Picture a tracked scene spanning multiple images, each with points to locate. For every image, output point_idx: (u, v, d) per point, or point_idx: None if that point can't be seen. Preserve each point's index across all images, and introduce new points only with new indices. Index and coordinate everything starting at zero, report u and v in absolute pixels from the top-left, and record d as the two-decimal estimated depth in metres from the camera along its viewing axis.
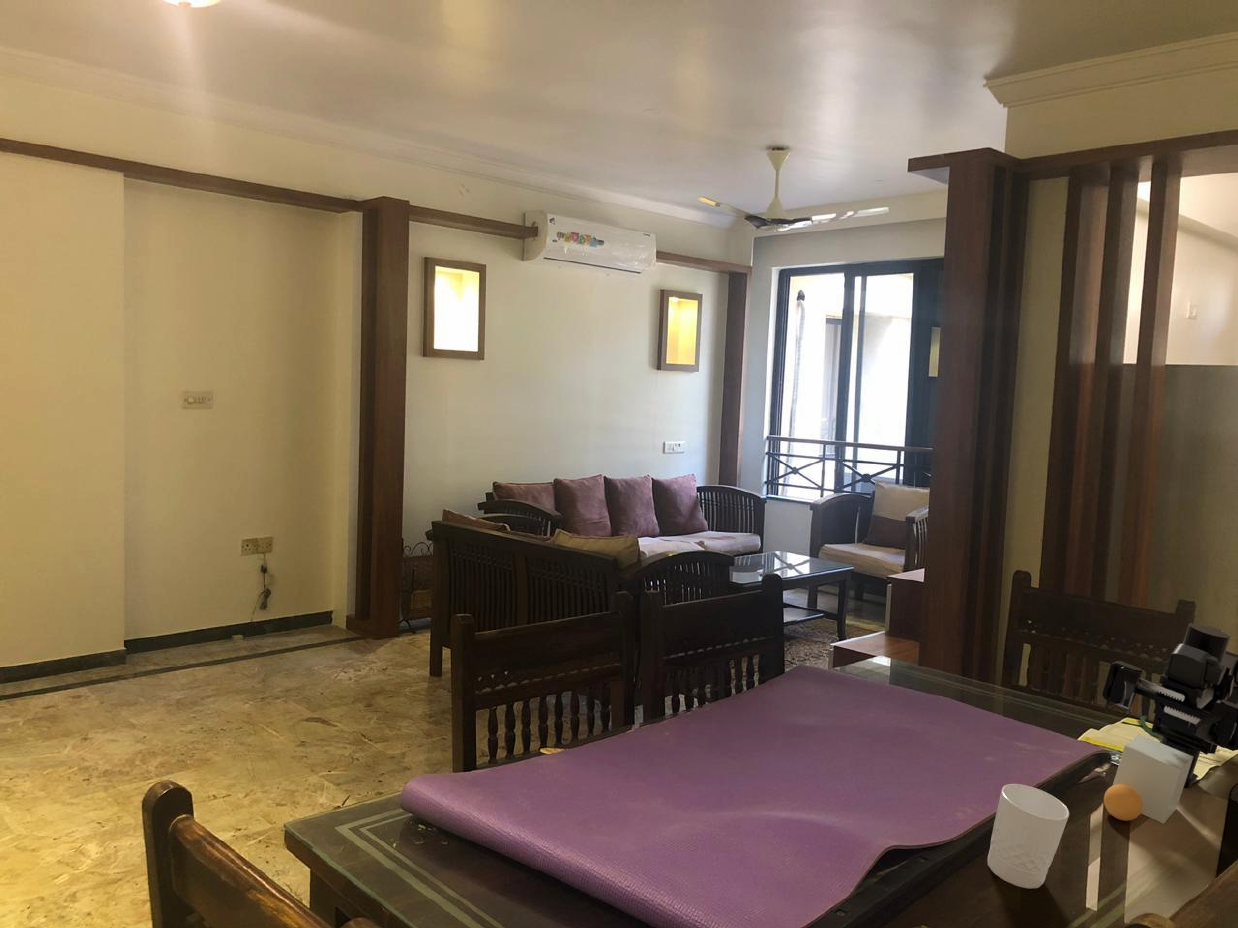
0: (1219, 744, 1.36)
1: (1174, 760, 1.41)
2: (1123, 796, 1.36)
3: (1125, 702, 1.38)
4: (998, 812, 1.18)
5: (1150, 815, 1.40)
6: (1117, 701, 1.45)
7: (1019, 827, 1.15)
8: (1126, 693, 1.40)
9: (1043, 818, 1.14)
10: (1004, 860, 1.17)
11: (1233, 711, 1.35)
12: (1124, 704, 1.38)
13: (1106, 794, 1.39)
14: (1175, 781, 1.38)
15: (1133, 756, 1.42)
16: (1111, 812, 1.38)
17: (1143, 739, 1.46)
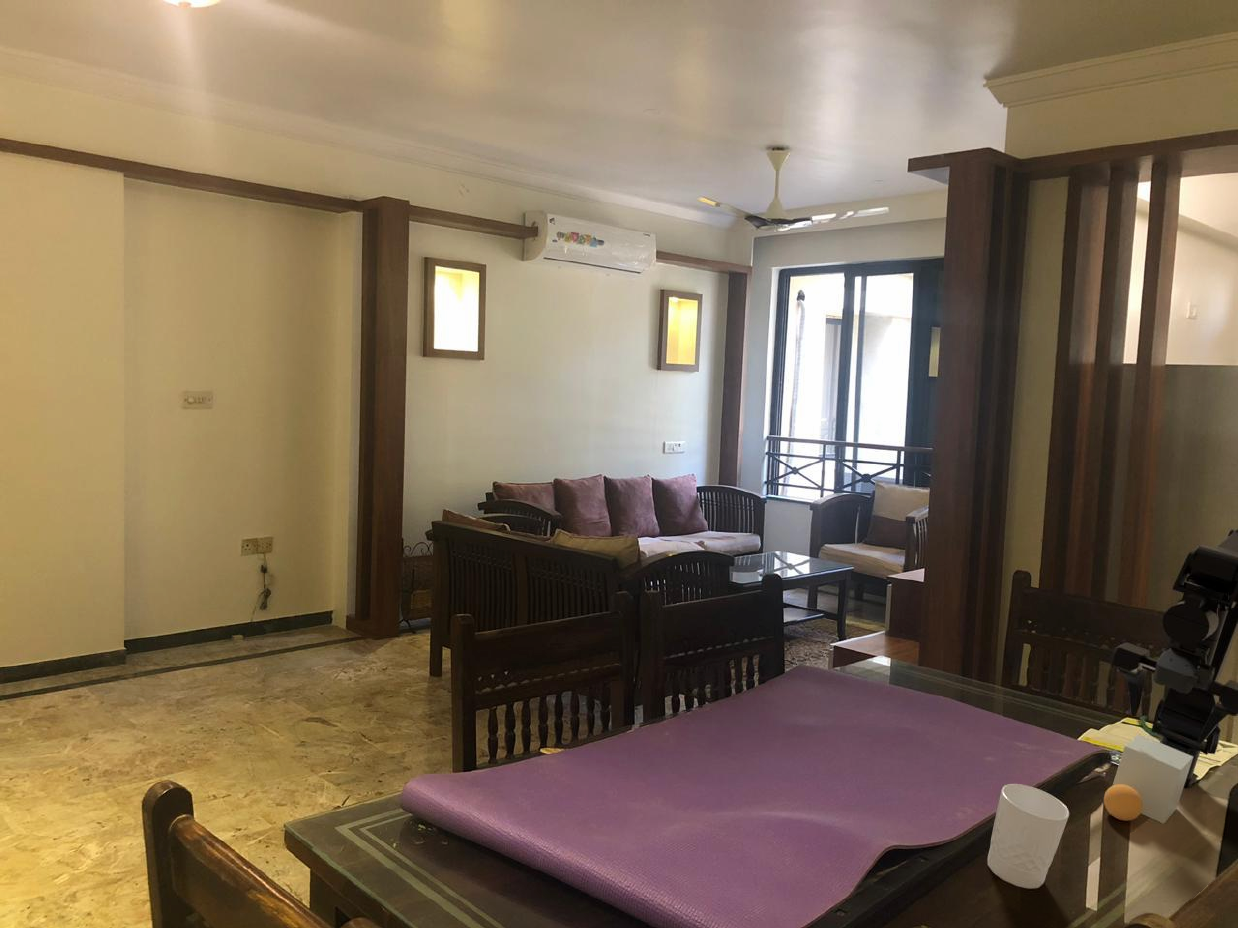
0: None
1: (1174, 760, 1.41)
2: (1123, 796, 1.36)
3: None
4: (998, 812, 1.18)
5: (1150, 815, 1.40)
6: None
7: (1019, 827, 1.15)
8: (1131, 705, 1.45)
9: (1043, 818, 1.14)
10: (1004, 860, 1.17)
11: (1231, 714, 1.34)
12: None
13: (1106, 794, 1.39)
14: (1175, 781, 1.38)
15: (1133, 756, 1.42)
16: (1111, 812, 1.38)
17: (1143, 739, 1.46)
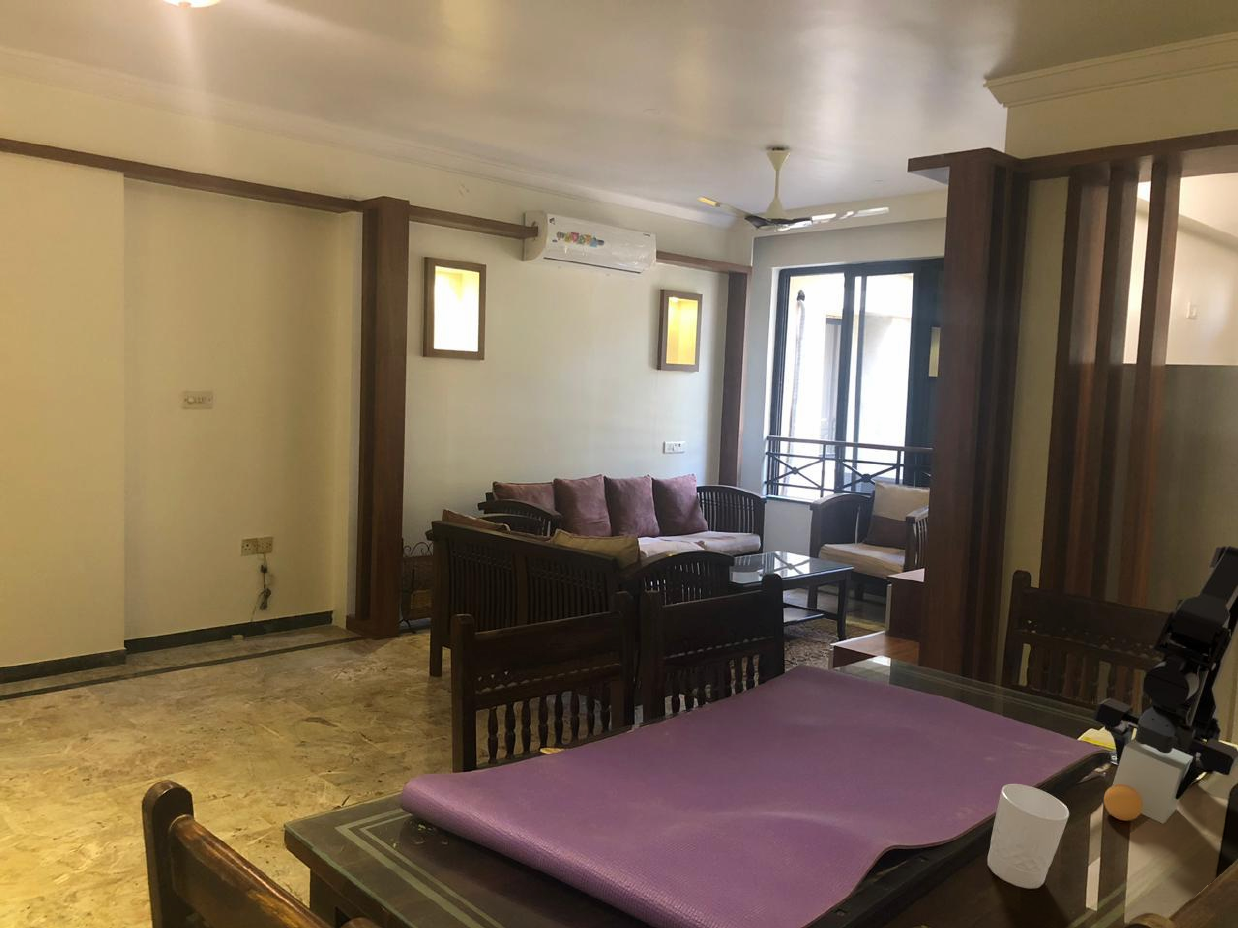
0: None
1: (1174, 760, 1.41)
2: (1123, 796, 1.36)
3: None
4: (998, 812, 1.18)
5: (1150, 815, 1.40)
6: None
7: (1019, 827, 1.15)
8: (1118, 762, 1.46)
9: (1043, 818, 1.14)
10: (1004, 860, 1.17)
11: (1207, 772, 1.36)
12: None
13: (1106, 794, 1.39)
14: (1175, 781, 1.38)
15: (1133, 756, 1.42)
16: (1111, 812, 1.38)
17: None
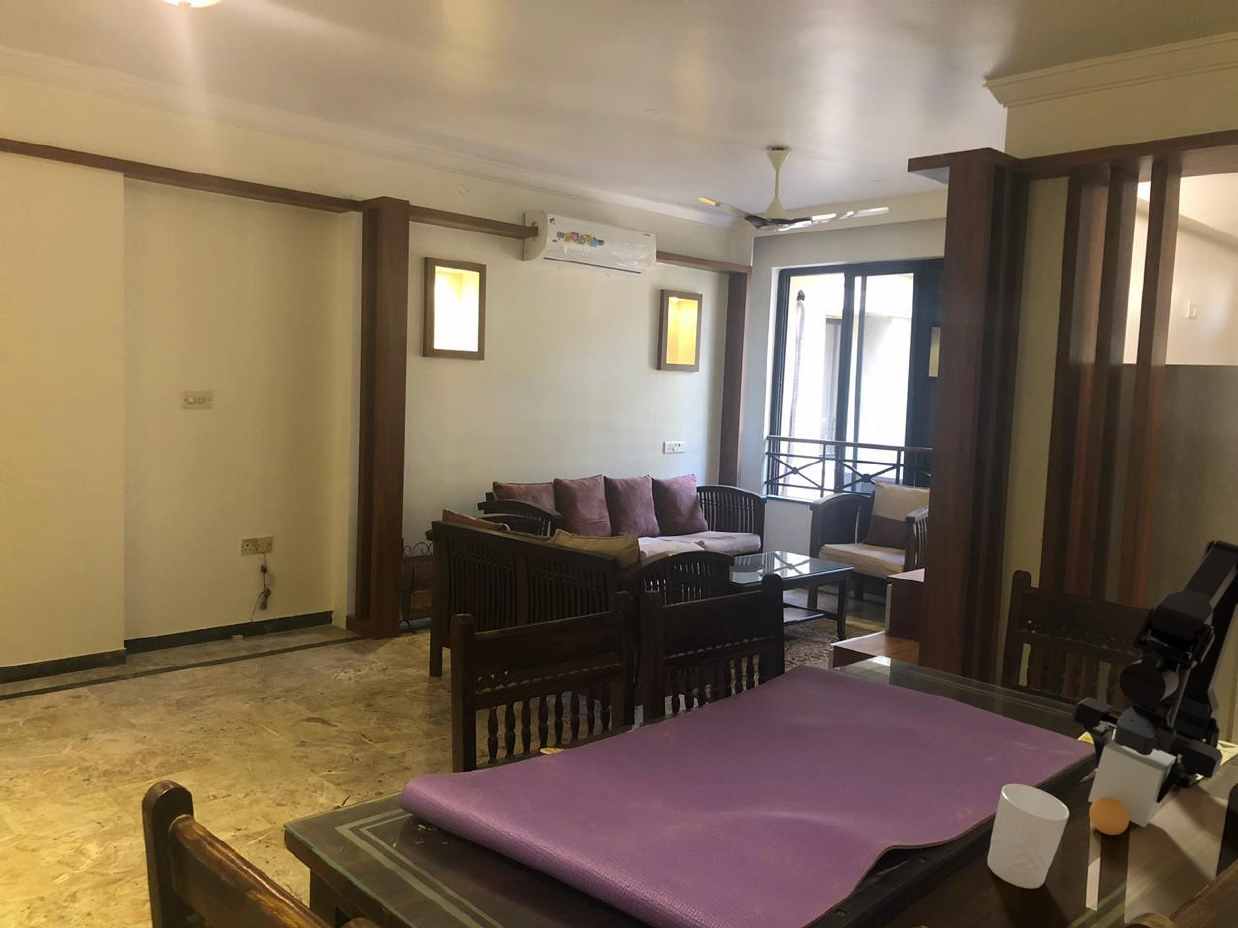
0: None
1: (1156, 760, 1.35)
2: None
3: None
4: (998, 812, 1.18)
5: (1131, 818, 1.35)
6: None
7: (1019, 827, 1.15)
8: (1097, 764, 1.41)
9: (1043, 818, 1.14)
10: (1004, 860, 1.17)
11: (1189, 775, 1.31)
12: None
13: None
14: (1156, 783, 1.33)
15: (1113, 757, 1.36)
16: None
17: None
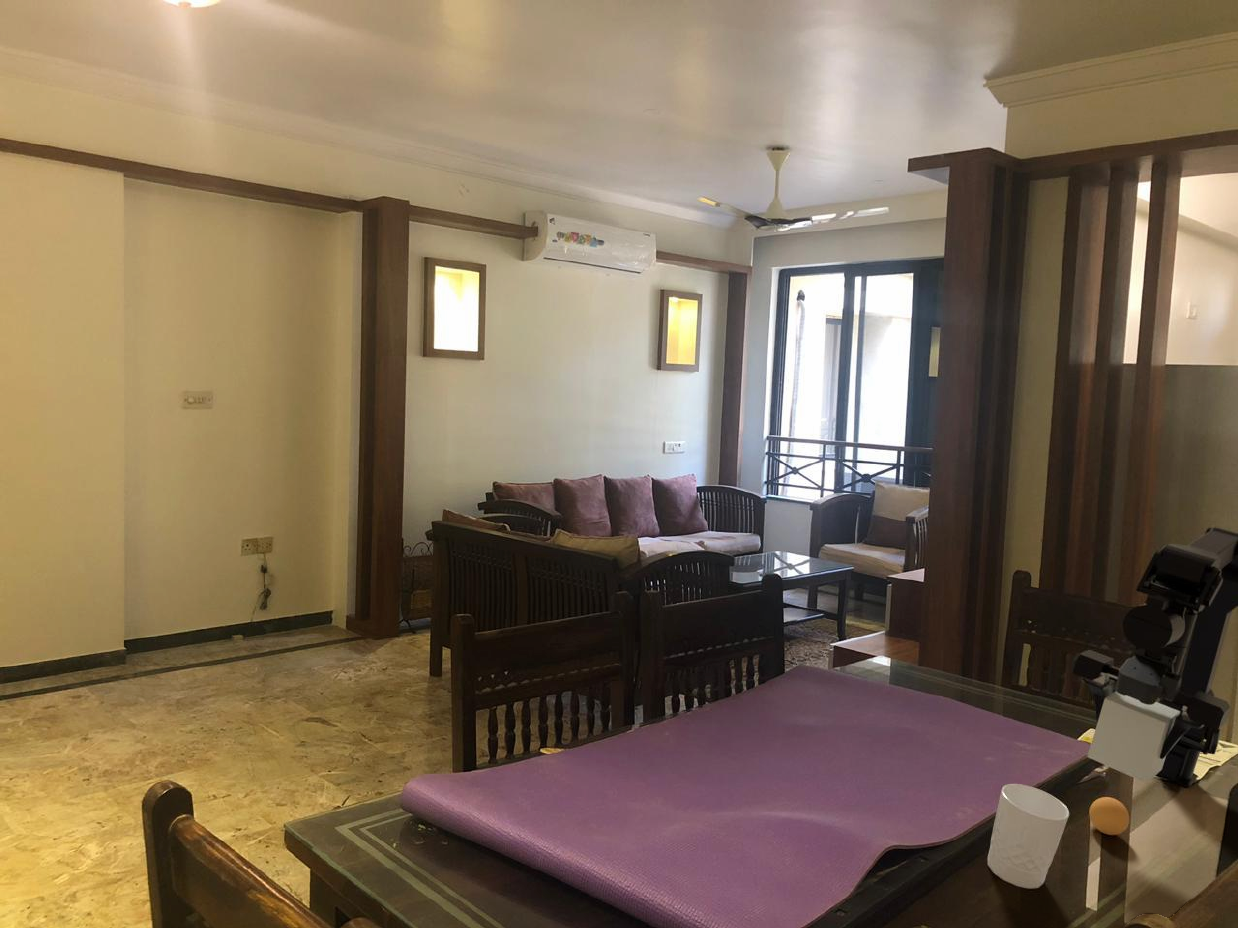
0: None
1: (1159, 713, 1.28)
2: None
3: None
4: (998, 812, 1.18)
5: (1132, 774, 1.27)
6: None
7: (1019, 827, 1.15)
8: (1097, 719, 1.33)
9: (1043, 818, 1.14)
10: (1004, 860, 1.17)
11: (1195, 727, 1.23)
12: None
13: None
14: (1160, 736, 1.25)
15: (1114, 709, 1.29)
16: None
17: None
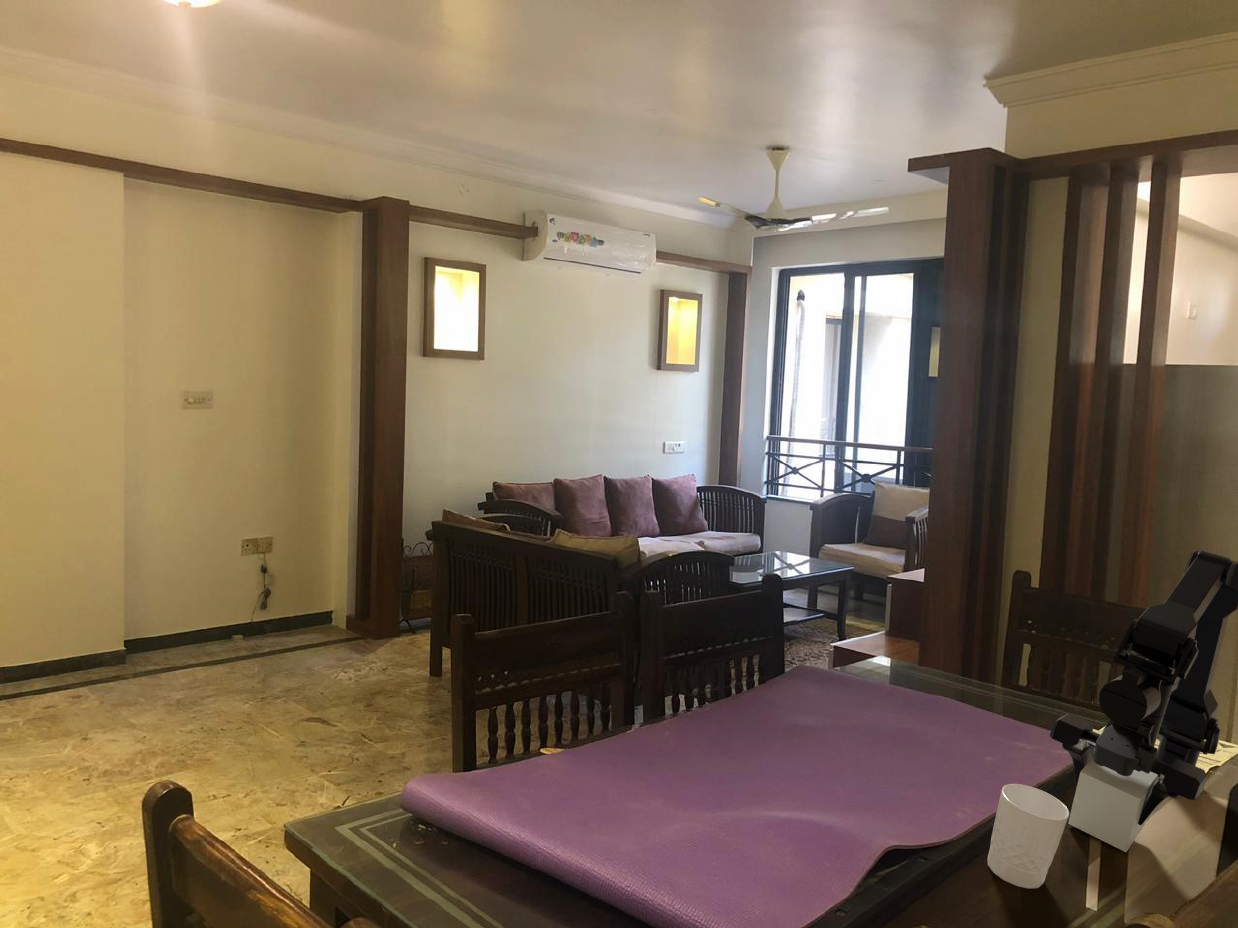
0: None
1: (1135, 784, 1.28)
2: None
3: None
4: (998, 812, 1.18)
5: (1112, 843, 1.29)
6: None
7: (1019, 827, 1.15)
8: None
9: (1043, 818, 1.14)
10: (1004, 860, 1.17)
11: (1171, 796, 1.24)
12: None
13: None
14: (1135, 810, 1.26)
15: (1090, 783, 1.30)
16: None
17: None
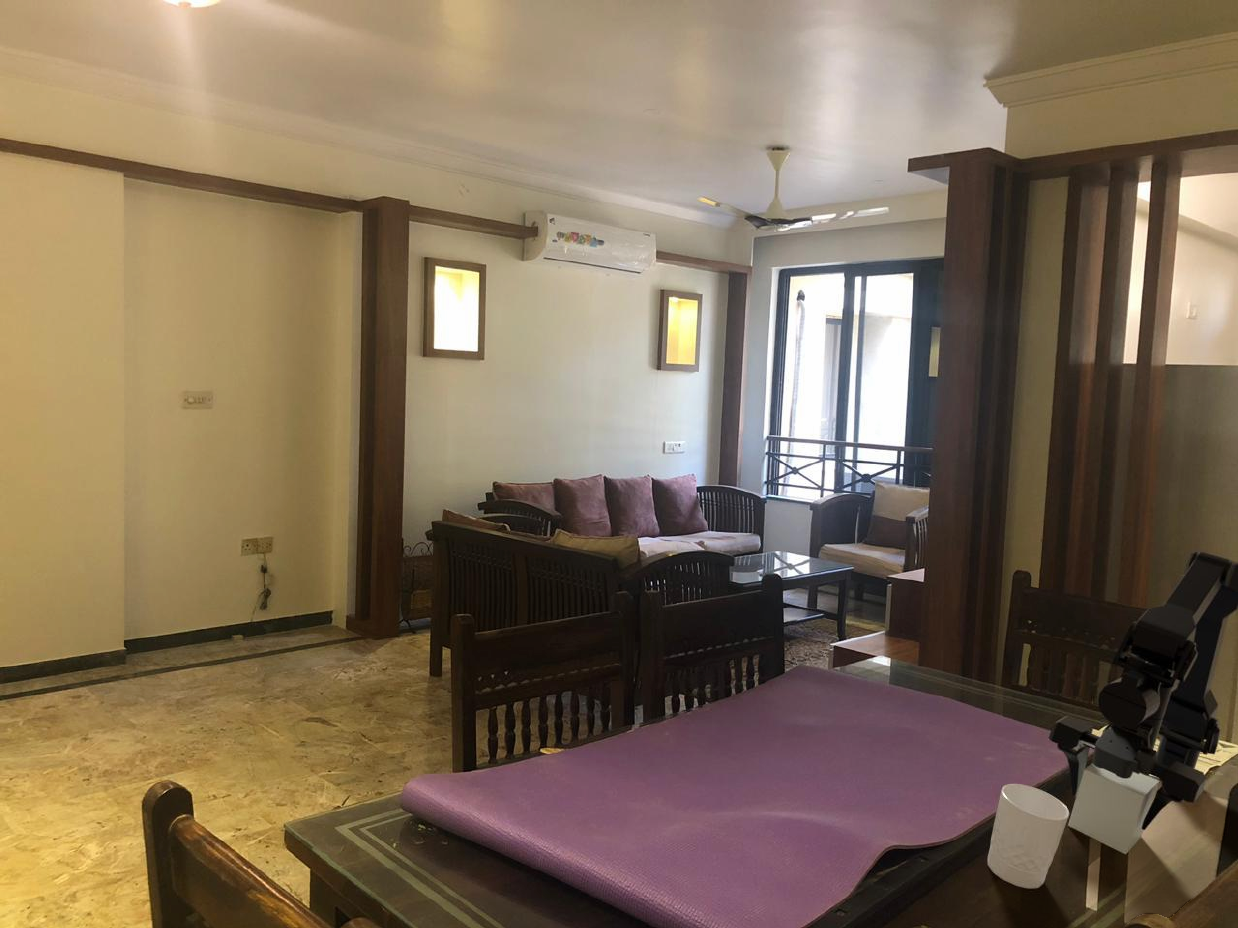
0: None
1: (1138, 785, 1.30)
2: None
3: None
4: (998, 812, 1.18)
5: (1111, 845, 1.30)
6: None
7: (1019, 827, 1.15)
8: (1072, 784, 1.35)
9: (1043, 818, 1.14)
10: (1004, 860, 1.17)
11: (1175, 801, 1.24)
12: None
13: None
14: (1138, 808, 1.27)
15: (1093, 781, 1.31)
16: None
17: None
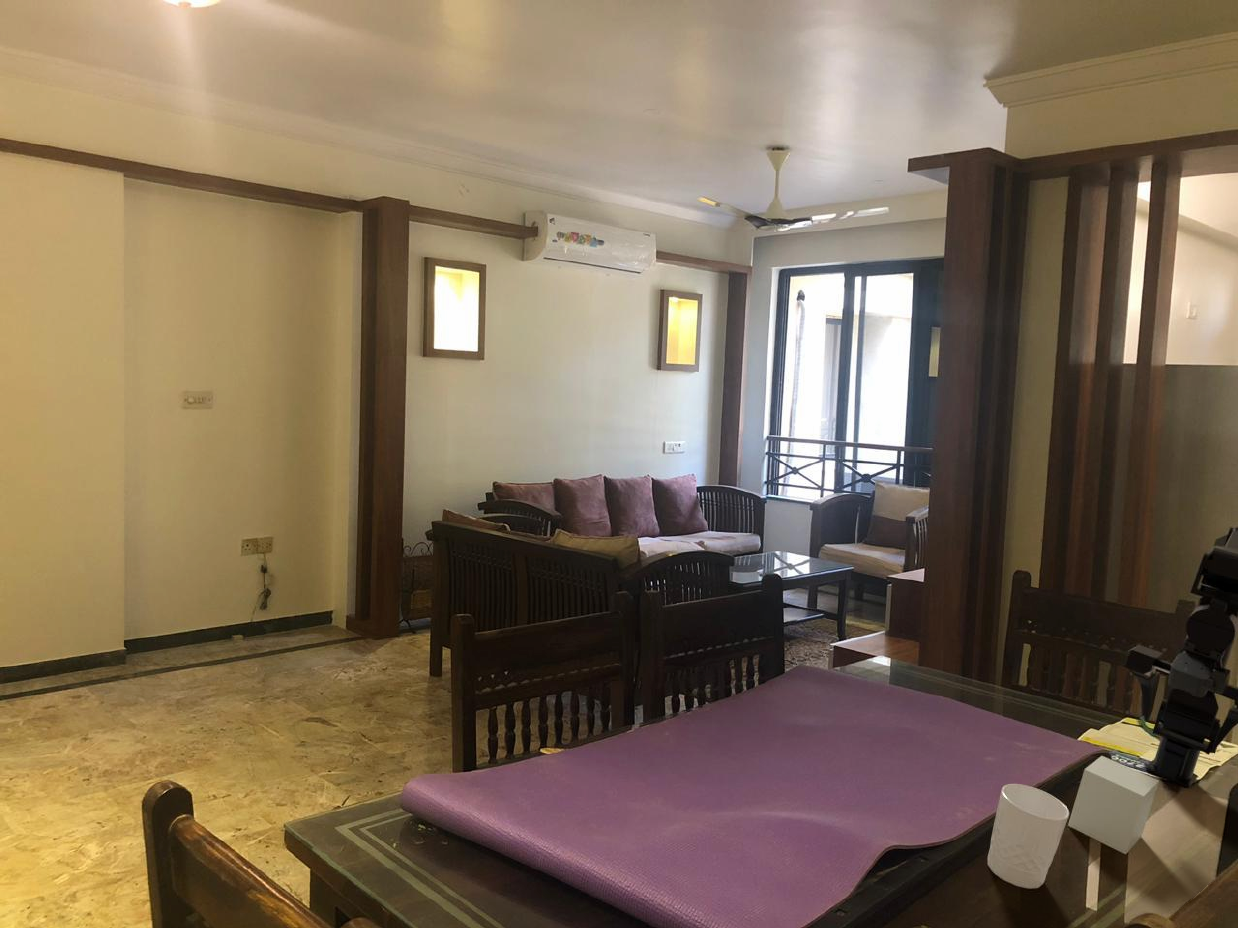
0: None
1: (1138, 785, 1.30)
2: None
3: None
4: (998, 812, 1.18)
5: (1111, 845, 1.30)
6: None
7: (1019, 827, 1.15)
8: (1144, 708, 1.42)
9: (1043, 818, 1.14)
10: (1004, 860, 1.17)
11: None
12: None
13: None
14: (1138, 808, 1.27)
15: (1093, 781, 1.31)
16: None
17: (1105, 761, 1.36)
